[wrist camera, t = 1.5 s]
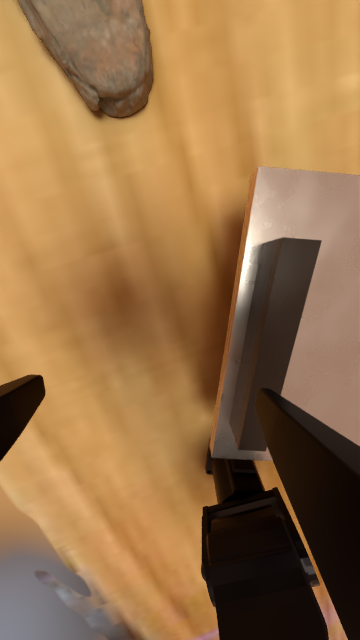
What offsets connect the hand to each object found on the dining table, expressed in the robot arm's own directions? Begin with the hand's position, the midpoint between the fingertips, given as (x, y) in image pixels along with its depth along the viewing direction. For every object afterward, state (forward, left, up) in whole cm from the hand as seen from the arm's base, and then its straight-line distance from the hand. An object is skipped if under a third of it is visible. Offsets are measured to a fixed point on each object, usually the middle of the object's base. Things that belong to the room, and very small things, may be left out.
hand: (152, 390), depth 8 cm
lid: (0, -16, -7) cm, 17 cm away
